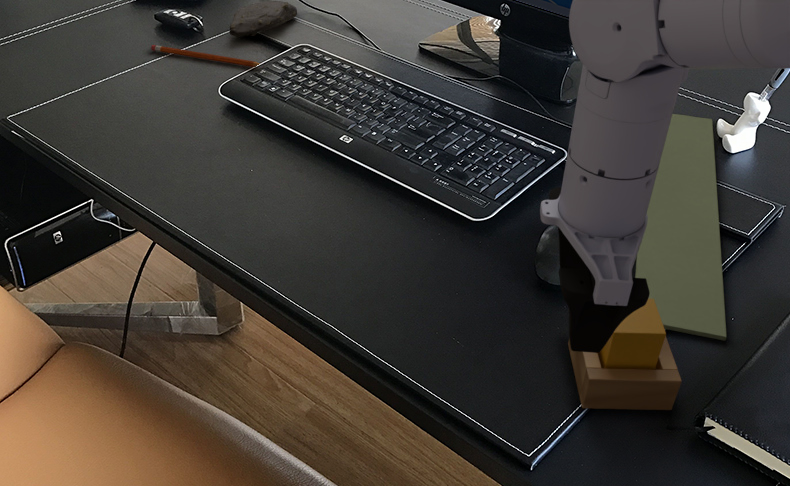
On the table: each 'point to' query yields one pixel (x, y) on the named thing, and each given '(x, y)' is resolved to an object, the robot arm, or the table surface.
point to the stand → (626, 383)
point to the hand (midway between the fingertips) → (579, 311)
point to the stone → (261, 17)
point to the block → (635, 341)
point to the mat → (685, 233)
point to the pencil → (204, 56)
